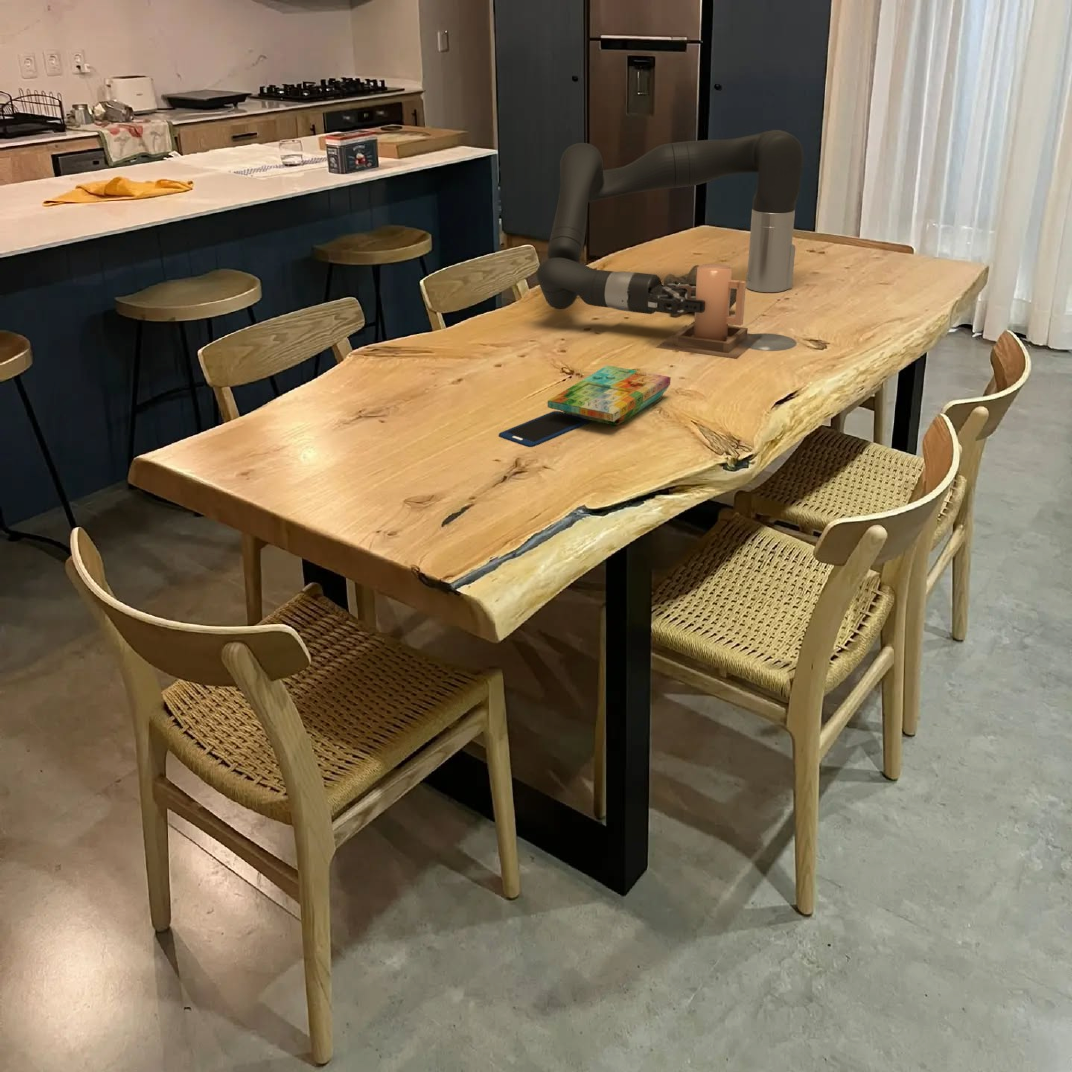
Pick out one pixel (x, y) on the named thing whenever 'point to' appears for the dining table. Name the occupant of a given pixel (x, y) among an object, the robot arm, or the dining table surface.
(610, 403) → the puzzle game
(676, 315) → the decorative stone
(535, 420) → the cell phone
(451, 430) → the dining table surface
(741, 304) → the peach orange tall mug
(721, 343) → the holder
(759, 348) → the grey disc
